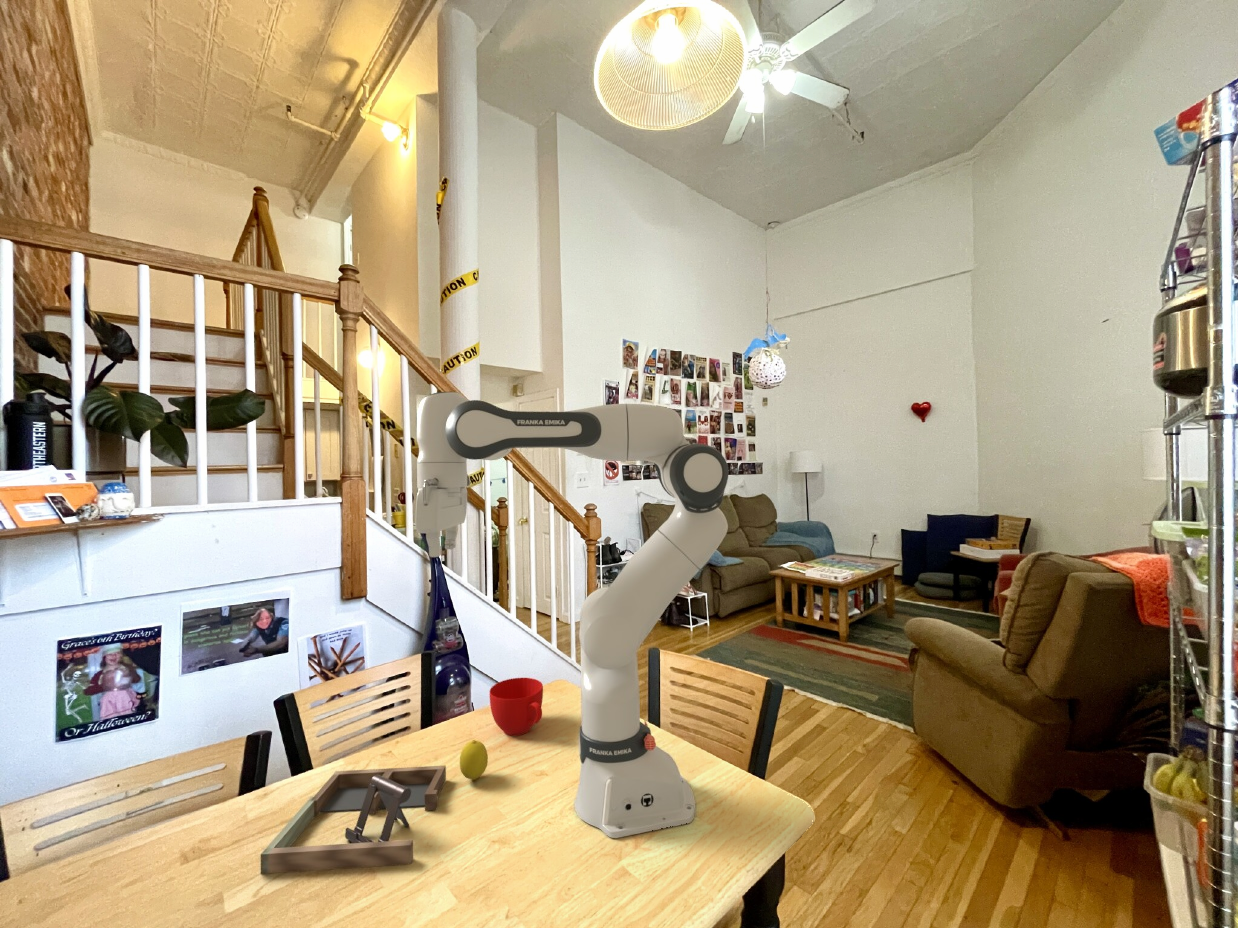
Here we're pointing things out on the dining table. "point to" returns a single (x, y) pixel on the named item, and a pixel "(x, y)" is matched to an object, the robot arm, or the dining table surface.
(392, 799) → the portable electronic device stand
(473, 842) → the dining table surface
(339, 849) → the channel
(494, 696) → the ceramic cup
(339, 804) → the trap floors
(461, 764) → the lemon
